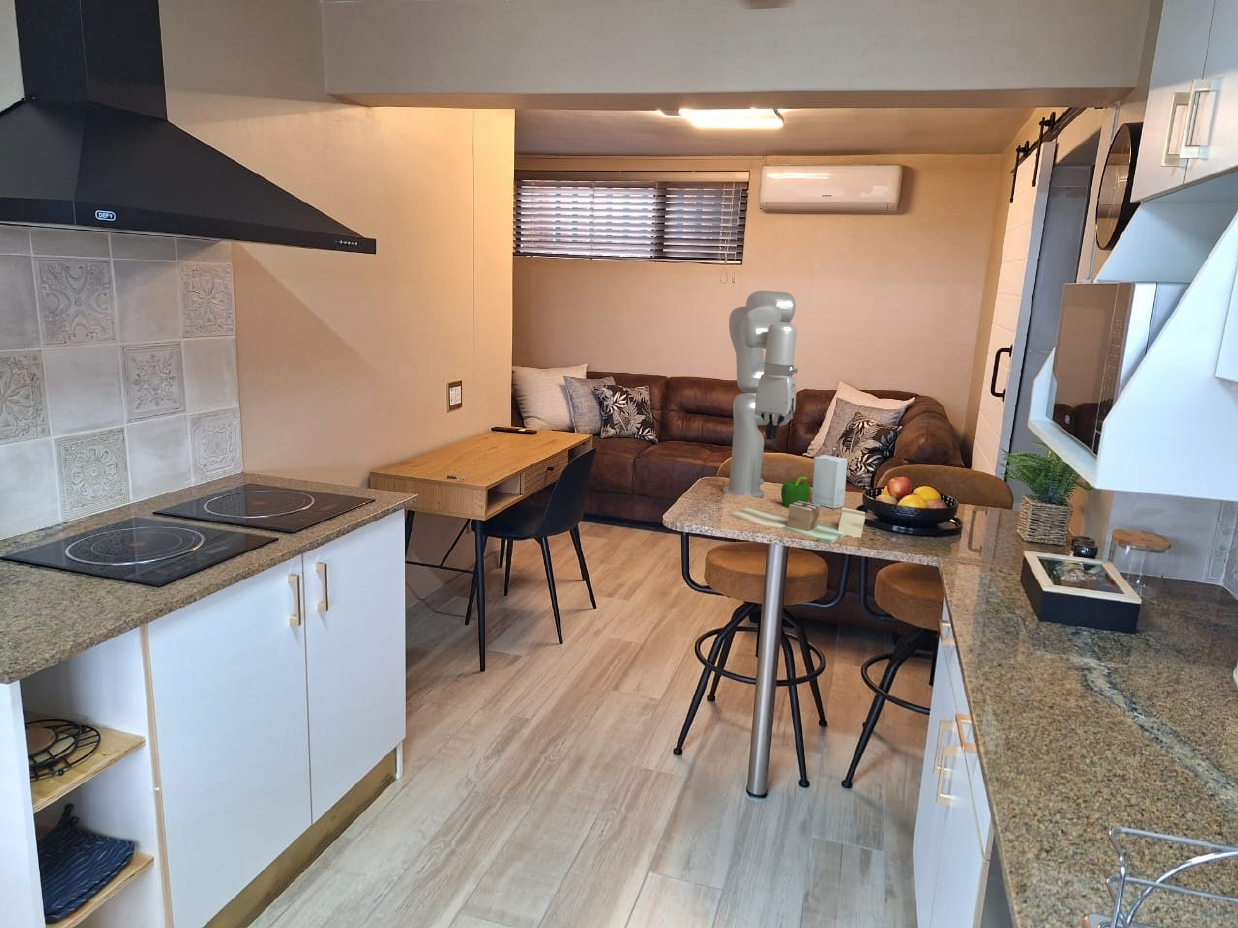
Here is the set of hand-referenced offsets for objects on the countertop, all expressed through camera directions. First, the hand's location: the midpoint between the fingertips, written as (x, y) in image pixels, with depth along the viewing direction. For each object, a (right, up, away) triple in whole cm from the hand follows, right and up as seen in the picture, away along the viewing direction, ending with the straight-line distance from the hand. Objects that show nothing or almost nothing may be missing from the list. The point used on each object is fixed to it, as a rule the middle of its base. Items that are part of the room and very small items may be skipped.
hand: (771, 438), depth 220 cm
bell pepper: (+10, -20, +20) cm, 30 cm away
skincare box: (+22, -19, +27) cm, 40 cm away
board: (+5, -24, +1) cm, 24 cm away
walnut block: (+8, -18, -3) cm, 20 cm away
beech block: (+20, -25, -2) cm, 33 cm away
